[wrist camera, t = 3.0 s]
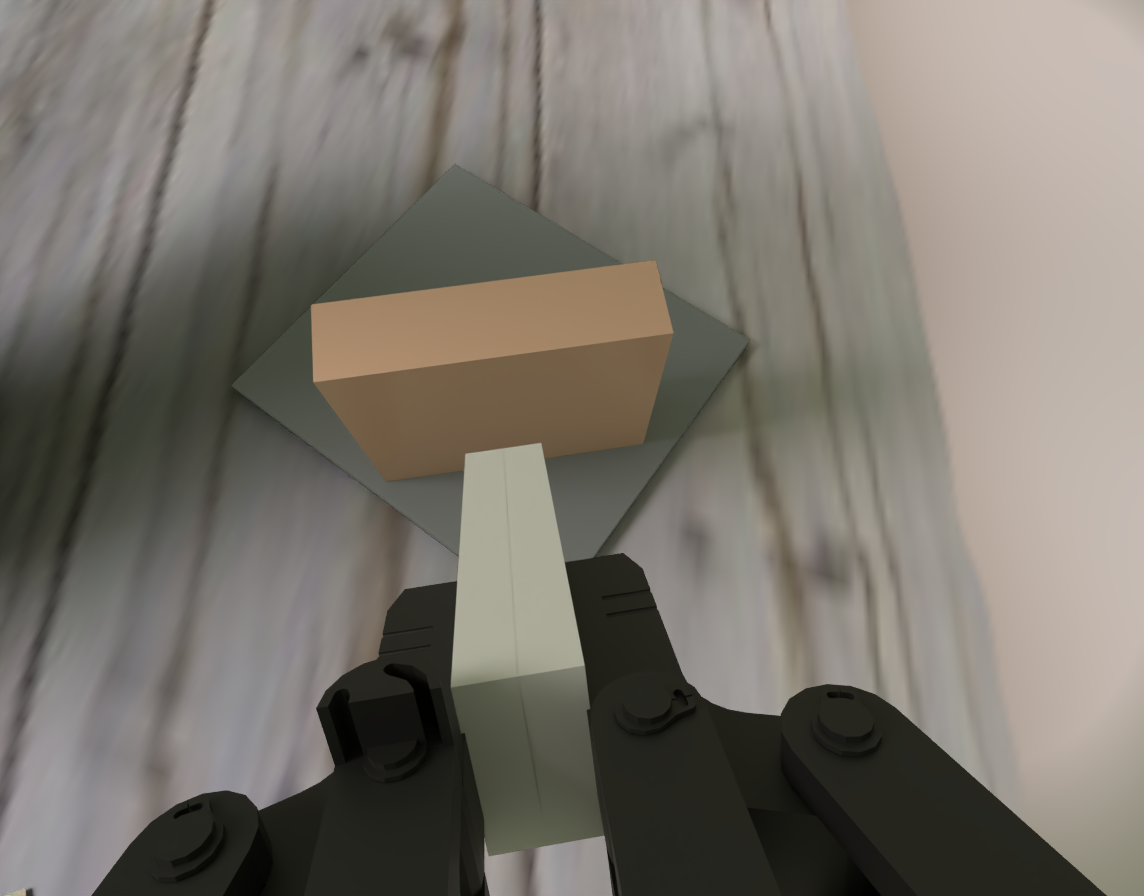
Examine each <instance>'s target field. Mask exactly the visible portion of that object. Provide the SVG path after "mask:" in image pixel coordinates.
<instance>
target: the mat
mask: <svg viewBox="0 0 1144 896" xmlns="http://www.w3.org/2000/svg"><path fill="white" fill-rule="evenodd" d="M621 264H622V263H620V262H619V261H617V260H615V259H614V258H612V257H610V256H609V255H607V254H605V253H604V252H602V251H600V250H599V249H597V248H595V247H594V246H592V245H590V244H588V243H587V242H585V241H583V240H582V239H580V238H578V237H577V236H575V235H573V234H572V233H570V232H568V231H567V230H565V229H563V228H562V227H560V226H558V225H557V224H555V223H553V222H552V221H550V220H548V219H547V218H545V217H543V216H542V215H540V214H538V213H536V212H535V211H533V210H531V209H530V208H528V207H526V206H525V205H523V204H521V203H520V202H518V201H516V200H515V199H513V198H511V197H510V196H508V195H506V194H505V193H503V192H501V191H500V190H498V189H496V188H495V187H493V186H491V185H490V184H488V183H486V182H485V181H483V180H481V179H479V178H478V177H476V176H474V175H473V174H471V173H469V172H468V171H466V170H464V169H463V168H461V167H459V166H458V165H456V164H454V165H453V166H452V167H451V168H450V169H449V170H448V171H447V172H446V173H445V174H444V175H443V176H442V177H441V178H440V179H439V180H438V181H437V182H436V183H435V184H434V185H433V186H432V187H431V188H430V189H429V190H428V191H427V192H426V193H425V194H424V195H423V196H422V197H421V198H420V199H419V200H418V201H417V202H416V203H415V204H414V205H413V206H412V207H411V208H410V209H409V210H408V211H407V212H406V213H405V214H404V215H403V216H402V217H401V218H400V219H399V220H398V221H397V222H396V223H395V224H394V225H393V226H392V227H391V228H390V229H389V230H388V231H386V232H385V233H384V234H383V235H382V236H381V237H380V238H379V239H378V240H377V241H376V242H375V243H374V244H373V245H372V246H371V247H370V248H369V249H368V250H367V251H366V252H365V253H364V254H363V255H362V256H361V257H360V258H359V259H358V260H357V261H356V262H355V263H354V264H353V265H352V266H351V267H350V268H349V269H348V270H347V271H346V272H345V273H344V274H343V275H342V276H341V277H340V278H339V279H338V280H337V281H336V282H335V283H334V284H333V285H332V286H331V287H330V288H329V289H328V290H327V291H326V292H325V293H324V294H323V295H322V296H321V297H320V298H319V299H318V300H317V301H316V302H315V303H314V304H320V303H327V302H335V301H343V300H350V299H358V298H366V297H374V296H381V295H389V294H397V293H405V292H412V291H420V290H428V289H435V288H443V287H451V286H459V285H466V284H474V283H482V282H490V281H497V280H505V279H513V278H520V277H528V276H536V275H544V274H551V273H559V272H567V271H575V270H582V269H590V268H598V267H605V266H613V265H621ZM663 292H664V296H665V300H666V304H667V308H668V313H669V317H670V321H671V325H672V329H673V337H672V341H671V344H670V348H669V352H668V355H667V359H666V362H665V366H664V370H663V373H662V377H661V381H660V384H659V388H658V392H657V395H656V399H655V403H654V406H653V410H652V413H651V417H650V421H649V424H648V428H647V432H646V435H645V439H644V443H643V444H640V445H633V446H626V447H620V448H613V449H606V450H599V451H592V452H586V453H579V454H572V455H565V456H558V457H552V458H545V459H544V460H545V465H546V470H547V475H548V480H549V485H550V491H551V496H552V501H553V506H554V511H555V516H556V521H557V526H558V531H559V537H560V542H561V547H562V552H563V557H564V562H569V561H576V560H582V559H589V558H594V557H595V556H596V555H597V553H598V552H599V550H600V549H601V548H602V546H603V545H604V543H605V542H606V541H607V539H608V538H609V536H610V535H611V534H612V532H613V531H614V530H615V528H616V527H617V525H618V524H619V523H620V521H621V520H622V518H623V517H624V516H625V514H626V513H627V512H628V510H629V509H630V507H631V506H632V505H633V503H634V502H635V500H636V499H637V498H638V496H639V495H640V494H641V492H642V491H643V489H644V488H645V487H646V485H647V484H648V482H649V481H650V480H651V478H652V477H653V475H654V474H655V473H656V471H657V470H658V469H659V467H660V466H661V464H662V463H663V462H664V460H665V459H666V457H667V456H668V455H669V453H670V452H671V451H672V449H673V448H674V446H675V445H676V444H677V442H678V441H679V439H680V438H681V437H682V435H683V434H684V433H685V431H686V430H687V428H688V427H689V426H690V424H691V423H692V421H693V420H694V419H695V417H696V416H697V414H698V413H699V412H700V410H701V409H702V408H703V406H704V405H705V403H706V402H707V401H708V399H709V398H710V396H711V395H712V394H713V392H714V391H715V390H716V388H717V387H718V385H719V384H720V383H721V381H722V380H723V378H724V377H725V376H726V374H727V373H728V372H729V370H730V369H731V367H732V366H733V365H734V363H735V362H736V360H737V359H738V358H739V356H740V355H741V353H742V352H743V351H744V349H745V348H746V347H747V345H748V343H749V341H750V340H749V339H748V338H746V337H744V336H743V335H741V334H739V333H738V332H736V331H734V330H733V329H731V328H729V327H728V326H726V325H724V324H723V323H721V322H719V321H718V320H716V319H714V318H713V317H711V316H709V315H708V314H706V313H704V312H703V311H701V310H699V309H697V308H696V307H694V306H692V305H691V304H689V303H687V302H686V301H684V300H682V299H681V298H679V297H677V296H676V295H674V294H672V293H671V292H669V291H667V290H666V289H664V288H663ZM231 386H232V387H233V388H234V389H235V390H236V391H237V392H238V393H240V394H241V395H243V396H244V397H245V398H247V399H248V400H249V401H251V402H252V403H253V404H255V405H256V406H257V407H259V408H260V409H261V410H263V411H264V412H265V413H267V414H268V415H269V416H271V417H272V418H273V419H275V420H276V421H277V422H279V423H280V424H281V425H283V426H284V427H285V428H287V429H288V430H289V431H291V432H292V433H293V434H295V435H296V436H297V437H299V438H300V439H301V440H303V441H304V442H305V443H307V444H308V445H309V446H311V447H312V448H314V449H315V450H316V451H318V452H319V453H320V454H322V455H323V456H324V457H326V458H327V459H328V460H330V461H331V462H332V463H334V464H335V465H336V466H338V467H339V468H340V469H342V470H343V471H344V472H346V473H347V474H348V475H350V476H351V477H352V478H354V479H355V480H356V481H358V482H359V483H360V484H362V485H363V486H364V487H366V488H367V489H368V490H370V491H371V492H372V493H374V494H375V495H376V496H378V497H379V498H381V499H382V500H383V501H385V502H386V503H387V504H389V505H390V506H391V507H393V508H394V509H395V510H397V511H398V512H399V513H401V514H402V515H403V516H405V517H406V518H407V519H409V520H410V521H411V522H413V523H414V524H415V525H417V526H418V527H419V528H421V529H422V530H423V531H425V532H426V533H427V534H429V535H430V536H431V537H433V538H434V539H435V540H437V541H438V542H439V543H441V544H442V545H443V546H445V547H446V548H447V549H449V550H450V551H452V552H453V553H454V554H456V555H457V556H458V557H459V548H460V532H461V516H462V501H463V485H464V470H463V471H456V472H450V473H443V474H436V475H429V476H422V477H416V478H409V479H402V480H395V481H388V482H386V481H385V480H384V478H383V477H382V475H381V474H380V473H379V471H378V470H377V469H376V467H375V466H374V465H373V463H372V462H371V460H370V459H369V458H368V456H367V455H366V454H365V452H364V451H363V450H362V448H361V447H360V445H359V444H358V443H357V441H356V440H355V439H354V437H353V436H352V435H351V433H350V432H349V430H348V429H347V428H346V426H345V425H344V424H343V422H342V421H341V420H340V418H339V417H338V415H337V414H336V413H335V411H334V410H333V409H332V407H331V406H330V405H329V403H328V402H327V400H326V399H325V398H324V396H323V395H322V394H321V392H320V391H319V390H318V388H317V387H316V385H315V384H314V383H313V355H312V320H311V307H310V308H309V309H308V310H307V311H306V312H305V313H304V314H302V315H301V316H300V317H299V318H298V319H297V320H296V321H295V322H294V323H293V324H292V325H291V326H290V327H289V328H288V329H287V330H286V331H285V332H284V333H283V334H282V335H281V336H280V337H279V338H278V339H277V340H276V341H275V342H274V343H273V344H272V345H271V346H270V347H269V348H268V349H267V350H266V351H265V352H264V353H263V354H262V355H261V356H260V357H259V358H258V359H257V360H256V361H255V362H254V363H253V364H252V365H251V366H250V367H249V368H248V369H247V370H246V371H245V372H244V373H243V374H242V375H241V376H240V377H239V378H238V379H237V380H236V381H235V382H234V383H233V384H232V385H231Z"/></svg>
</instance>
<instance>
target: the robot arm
mask: <svg viewBox="0 0 1144 896" xmlns="http://www.w3.org/2000/svg"><path fill="white" fill-rule="evenodd" d="M316 709H317V712H318V715H319V718H320V721H321V724H322V728H323V731H324V734H325V737H326V740H327V743H328V746H329V749H330V752H331V755H332V758H333V761H334V764H335V768H334V772H333V773H332V774H330V775H329V776H328V777H326V778H325V779H324V780H322V781H321V782H320V783H318V784H316V785H314V786H312V787H310V788H308V789H306V790H305V791H303V792H301V793H298V794H296V795H294V796H292V797H289V798H287V799H285V800H282V801H280V802H278V803H275V804H273V805H271V806H269V807H266V808H264V809H262V810H259V811H258V809H257V807H256V806H255V805H254V804H253V803H252V802H251V801H250V800H249V798H248V797H247V796H246V795H243V794H239V793H235V792H231V791H227V790H226V791H219V792H212V793H205V794H201V795H199V796H196V797H194V798H191V799H189V800H187V801H184V802H182V803H179V804H177V805H175V806H174V807H172V808H171V809H169V810H168V811H167V812H165V813H164V814H162V815H161V816H159V817H158V818H156V819H155V820H154V821H152V822H151V823H150V824H149V825H148V826H147V827H146V828H145V829H144V830H143V831H142V832H141V833H140V834H139V835H138V836H137V838H136V839H135V840H134V841H133V842H132V843H131V844H130V845H129V846H128V848H127V849H126V850H125V852H124V853H123V854H122V856H121V857H120V858H119V860H118V861H117V862H116V864H115V865H114V866H113V868H112V869H111V870H110V872H109V873H108V874H107V876H106V877H105V878H104V880H103V881H102V882H101V884H100V885H99V886H98V888H97V889H96V890H95V892H94V893H93V894H92V896H490V894H489V890H488V885H487V881H486V877H485V872H484V837H485V842H486V846H487V851H488V855H489V856H493V855H498V854H504V853H509V852H515V851H520V850H526V849H531V848H537V847H542V846H548V845H553V844H559V843H565V842H570V841H576V840H581V839H587V838H592V837H598V836H603V835H605V841H606V847H607V854H608V862H609V870H610V878H611V886H612V893H613V896H1106V895H1105V894H1104V893H1103V892H1102V891H1101V890H1099V888H1097V887H1096V886H1095V885H1094V884H1093V883H1092V882H1091V881H1090V880H1088V879H1087V878H1086V877H1085V876H1084V875H1083V874H1082V873H1081V872H1079V871H1078V870H1077V869H1076V868H1075V867H1074V866H1073V865H1072V864H1070V863H1069V862H1068V861H1067V860H1066V859H1065V858H1064V857H1062V855H1060V854H1059V853H1058V852H1057V851H1056V850H1055V849H1054V848H1053V847H1051V846H1050V845H1049V844H1048V843H1047V842H1045V840H1043V839H1042V838H1041V837H1040V836H1039V835H1038V834H1037V833H1036V832H1035V831H1033V830H1032V829H1031V828H1030V827H1029V826H1028V825H1027V824H1026V823H1024V822H1023V821H1022V820H1021V819H1020V818H1019V817H1018V816H1017V815H1015V814H1014V813H1013V812H1012V811H1011V810H1010V809H1009V808H1008V807H1006V806H1005V805H1004V804H1003V803H1002V802H1001V801H1000V800H999V799H997V798H996V797H995V796H994V795H993V794H992V793H991V792H990V791H988V790H987V789H986V788H985V787H984V786H983V785H982V784H981V783H980V782H978V781H977V780H976V779H975V778H974V777H973V776H972V775H971V774H969V773H968V772H967V771H966V770H965V769H964V768H963V767H962V766H960V765H959V764H958V763H957V762H956V761H955V760H954V759H953V758H951V757H950V756H949V755H948V754H947V753H946V752H945V751H944V750H942V749H941V748H940V747H939V746H938V745H937V744H936V743H935V742H933V741H932V740H931V739H930V738H929V737H928V736H927V735H926V734H924V733H923V732H922V731H921V730H920V729H919V728H918V727H917V726H915V725H914V724H913V723H912V722H911V721H910V720H909V719H908V718H906V717H905V716H904V715H903V714H902V713H901V712H900V711H899V710H897V709H896V708H895V707H894V706H892V705H891V704H889V703H888V702H886V701H884V700H883V699H881V698H880V697H878V696H877V695H875V694H873V693H870V692H867V691H864V690H861V689H858V688H855V687H852V686H843V685H830V684H826V685H821V686H816V687H811V688H806V689H804V690H803V691H801V692H799V693H798V694H796V695H795V696H793V697H792V698H790V699H789V701H788V702H787V704H786V706H785V708H784V709H783V711H782V713H781V716H776V715H765V714H753V713H745V712H739V711H734V710H729V709H726V708H723V707H720V706H718V705H715V704H713V703H711V702H709V701H708V700H706V699H704V698H703V697H701V696H700V694H699V693H698V691H697V690H696V689H695V687H693V686H692V685H690V684H689V683H687V681H686V679H685V678H684V676H683V674H682V672H681V669H680V666H679V664H678V661H677V658H676V656H675V653H674V650H673V648H672V645H671V643H670V640H669V637H668V635H667V632H666V629H665V627H664V624H663V622H662V619H661V616H660V614H659V611H658V610H657V606H656V603H655V600H654V598H653V595H652V593H651V592H650V587H649V585H648V582H647V579H646V577H645V574H644V571H643V569H642V568H641V567H640V566H639V565H637V564H636V563H635V562H634V561H632V560H631V559H630V558H629V557H627V556H626V555H625V554H624V553H621V554H614V555H608V556H601V557H595V558H589V559H582V560H576V561H569V562H564V557H563V552H562V547H561V542H560V537H559V531H558V526H557V521H556V516H555V511H554V506H553V501H552V496H551V491H550V485H549V480H548V475H547V470H546V465H545V460H544V455H543V450H542V444H541V443H537V444H530V445H523V446H516V447H509V448H502V449H495V450H489V451H482V452H475V453H468V454H465V469H464V485H463V501H462V516H461V532H460V548H459V564H458V580H457V581H455V582H449V583H442V584H436V585H429V586H423V587H416V588H410V589H405V590H404V591H403V592H402V594H401V595H400V596H399V597H398V599H397V600H396V601H395V602H394V604H393V605H392V606H391V607H390V609H389V610H388V611H387V616H386V621H385V625H384V630H383V638H382V640H381V644H380V649H379V658H378V659H377V660H375V661H371V662H368V663H364V664H362V665H360V666H359V667H357V668H355V669H353V670H351V671H350V672H348V673H346V674H344V675H342V676H341V677H340V678H339V679H338V680H337V681H336V682H335V683H334V684H333V685H332V686H331V687H329V688H328V689H327V690H326V692H325V693H324V695H323V697H322V699H321V701H320V702H319V704H318V706H317V708H316Z"/></svg>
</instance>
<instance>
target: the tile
mask: <svg viewBox="0 0 1144 896" xmlns="http://www.w3.org/2000/svg"><path fill="white" fill-rule="evenodd" d="M311 320H312V355H313V383H314V384H315V385H316V387H317V388H318V390H319V391H320V392H321V394H322V395H323V396H324V398H325V399H326V400H327V402H328V403H329V405H330V406H331V407H332V409H333V410H334V411H335V413H336V414H337V415H338V417H339V418H340V420H341V421H342V422H343V424H344V425H345V426H346V428H347V429H348V430H349V432H350V433H351V435H352V436H353V437H354V439H355V440H356V441H357V443H358V444H359V445H360V447H361V448H362V450H363V451H364V452H365V454H366V455H367V456H368V458H369V459H370V460H371V462H372V463H373V465H374V466H375V467H376V469H377V470H378V471H379V473H380V474H381V475H382V477H383V478H384V480H385V481H386V482H388V481H395V480H402V479H409V478H416V477H422V476H429V475H436V474H443V473H450V472H456V471H463V470H464V469H465V454H468V453H475V452H482V451H489V450H495V449H502V448H509V447H516V446H523V445H530V444H537V443H541V444H542V450H543V455H544V459H545V458H552V457H558V456H565V455H572V454H579V453H586V452H592V451H599V450H606V449H613V448H620V447H626V446H633V445H640V444H643V443H644V439H645V435H646V432H647V428H648V424H649V421H650V417H651V413H652V410H653V406H654V403H655V399H656V395H657V392H658V388H659V384H660V381H661V377H662V373H663V370H664V366H665V362H666V359H667V355H668V352H669V348H670V344H671V341H672V337H673V329H672V325H671V321H670V317H669V313H668V308H667V304H666V300H665V296H664V292H663V288H662V284H661V280H660V276H659V272H658V268H657V264H656V260H652V261H644V262H636V263H629V264H621V265H613V266H605V267H598V268H590V269H582V270H575V271H567V272H559V273H551V274H544V275H536V276H528V277H520V278H513V279H505V280H497V281H490V282H482V283H474V284H466V285H459V286H451V287H443V288H435V289H428V290H420V291H412V292H405V293H397V294H389V295H381V296H374V297H366V298H358V299H350V300H343V301H335V302H327V303H320V304H312V305H311Z"/></svg>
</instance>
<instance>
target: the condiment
mask: <svg viewBox="0 0 1144 896" xmlns="http://www.w3.org/2000/svg"><path fill="white" fill-rule="evenodd" d="M5 896H26V888H23V889H21V890H18V891H15V892H13V893H10V894H7V895H5Z"/></svg>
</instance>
